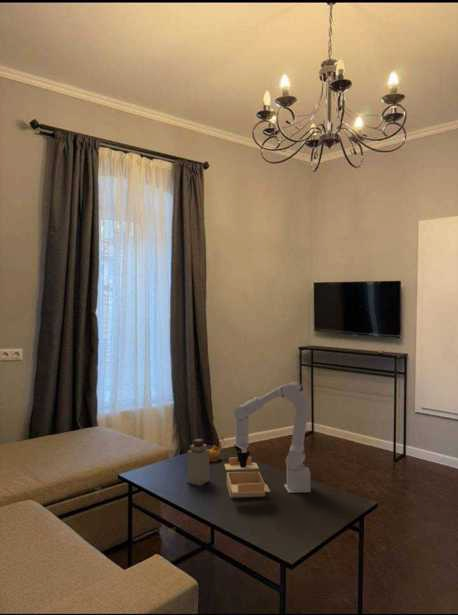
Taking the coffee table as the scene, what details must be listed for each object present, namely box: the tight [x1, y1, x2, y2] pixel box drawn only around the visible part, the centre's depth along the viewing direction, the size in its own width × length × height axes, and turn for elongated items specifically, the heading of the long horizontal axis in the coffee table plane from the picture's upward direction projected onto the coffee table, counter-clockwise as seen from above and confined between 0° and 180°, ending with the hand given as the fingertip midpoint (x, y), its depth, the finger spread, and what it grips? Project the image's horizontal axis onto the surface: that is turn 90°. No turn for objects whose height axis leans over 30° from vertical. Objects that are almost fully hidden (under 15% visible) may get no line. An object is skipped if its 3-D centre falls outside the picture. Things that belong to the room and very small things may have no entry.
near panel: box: [230, 482, 271, 493], centre depth 169 cm, size 14×7×3 cm, turn 96°
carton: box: [226, 471, 266, 499], centre depth 181 cm, size 14×14×5 cm
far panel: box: [224, 456, 260, 471], centre depth 194 cm, size 14×7×3 cm, turn 96°
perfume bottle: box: [186, 438, 210, 487], centre depth 190 cm, size 7×7×18 cm
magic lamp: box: [208, 435, 226, 462], centre depth 219 cm, size 7×18×11 cm, turn 125°
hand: (241, 464), depth 192 cm, fingers open, 7 cm apart
